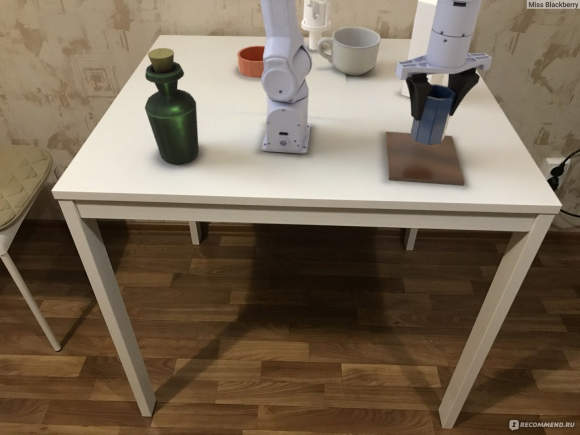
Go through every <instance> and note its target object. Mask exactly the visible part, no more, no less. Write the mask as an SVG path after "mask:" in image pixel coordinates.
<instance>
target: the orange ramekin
mask: <svg viewBox="0 0 580 435" xmlns="http://www.w3.org/2000/svg"><path fill="white" fill-rule="evenodd" d="M264 49H265V45H251V46H250V45H249V46H246V47H242V48H241V49H239V50H238V52H237V54H236V57H237V58H236V59H237V69H238V72H239V73H240V74H241V75H243V76H246V77H248V78H262V74H263V71H264V62H263V54H264Z"/></svg>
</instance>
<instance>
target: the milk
mask: <svg viewBox="0 0 580 435" xmlns="http://www.w3.org/2000/svg"><path fill="white" fill-rule="evenodd" d="M437 1H438V0H417V5H416V11H415V16H414V22H413V27H412V32H411V38H410V43H409V49H408V56H407V60H410V59H413V58H417V57H420V56H423V55H426V53H427V49H428V44H429V39H430V34H431V29H432V25H433V20H434V15H435V10H436V6H437ZM444 77H445V74H441V73H440V74H431V75H427V78H428V82H429V83H430V84H439V85H443V82H444ZM400 93H401V96H404V97H407V98H410V95H409V90H408V87H407V83H406V80H403V82H402V87H401V92H400Z"/></svg>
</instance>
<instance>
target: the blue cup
mask: <svg viewBox="0 0 580 435" xmlns="http://www.w3.org/2000/svg"><path fill="white" fill-rule="evenodd" d="M431 85H432V86H433V87H432V89H431V90H430V92H429V94H428V97H427V99H426V102H425V105H424V110H423V114H422V117H421V119H420V120H419V121H416V120H415V119H414V118H413V119H412V124H411V129H410V132H409V133H410V135H411V136H412V138H413V139H414V140H415V141H416V142H419V143H423V144H426V145H433V144H440V143H441V142H442V140H443V139H444V136H446V132H447V129H448V125H449V121H450V119H451V118H450V117H451V116H450V114H451V110H452V106H453V103H454V99H455V95H456V93H455V92H454V91H453V90H452V89H451V88H450V87H448V85H443V84H442V85H439V84H431Z"/></svg>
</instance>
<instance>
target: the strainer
mask: <svg viewBox="0 0 580 435" xmlns="http://www.w3.org/2000/svg"><path fill="white" fill-rule="evenodd" d="M331 1H332V0H303V19H302V20H301V24H300V26H301V29H303V30H304V31H307V32H309V35H308V36H309V37H308V38H309V40H308V48H309V49H310V50H312V51H317V43H318V41H319V40H320V39H321V38H323V32H326V31H330V30H331V28H332V27H331V26H332V21H331V20H330V18H331V3H332V2H331Z"/></svg>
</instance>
